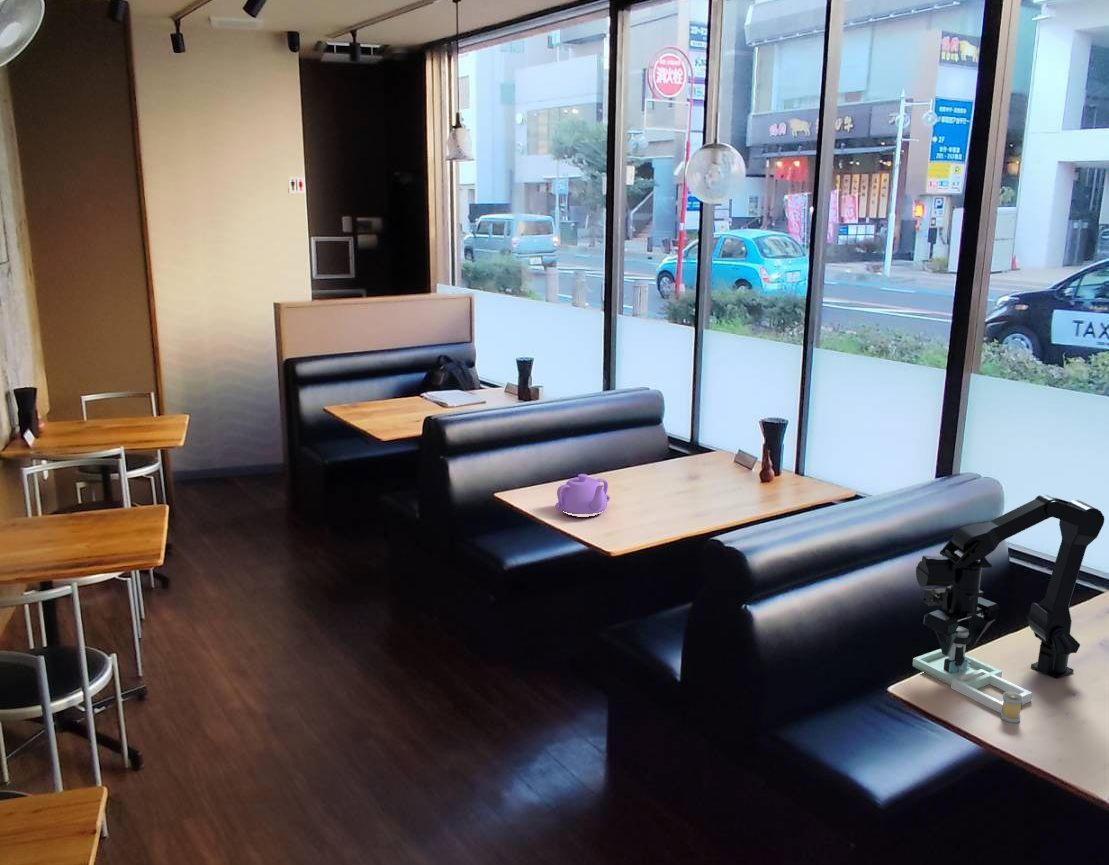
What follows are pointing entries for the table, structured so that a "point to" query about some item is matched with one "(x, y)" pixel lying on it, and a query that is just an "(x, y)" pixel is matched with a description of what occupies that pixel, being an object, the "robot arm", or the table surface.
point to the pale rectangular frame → (984, 697)
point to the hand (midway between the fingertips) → (958, 649)
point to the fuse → (1011, 707)
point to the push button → (958, 652)
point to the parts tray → (935, 667)
